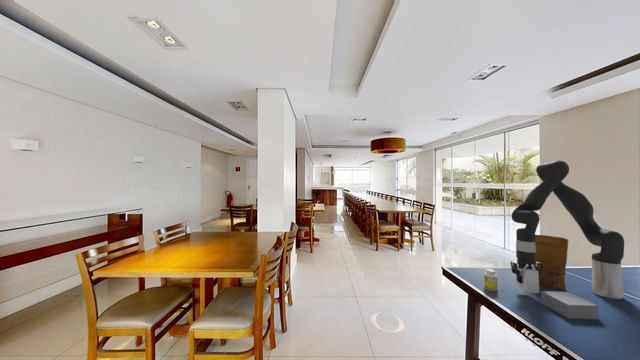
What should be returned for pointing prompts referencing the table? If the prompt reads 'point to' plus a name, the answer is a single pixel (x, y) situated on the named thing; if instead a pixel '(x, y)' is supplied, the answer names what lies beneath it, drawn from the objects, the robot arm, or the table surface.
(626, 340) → the table surface
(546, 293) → the base block
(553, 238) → the pancake mix bag
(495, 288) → the supplement bottle
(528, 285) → the small box
